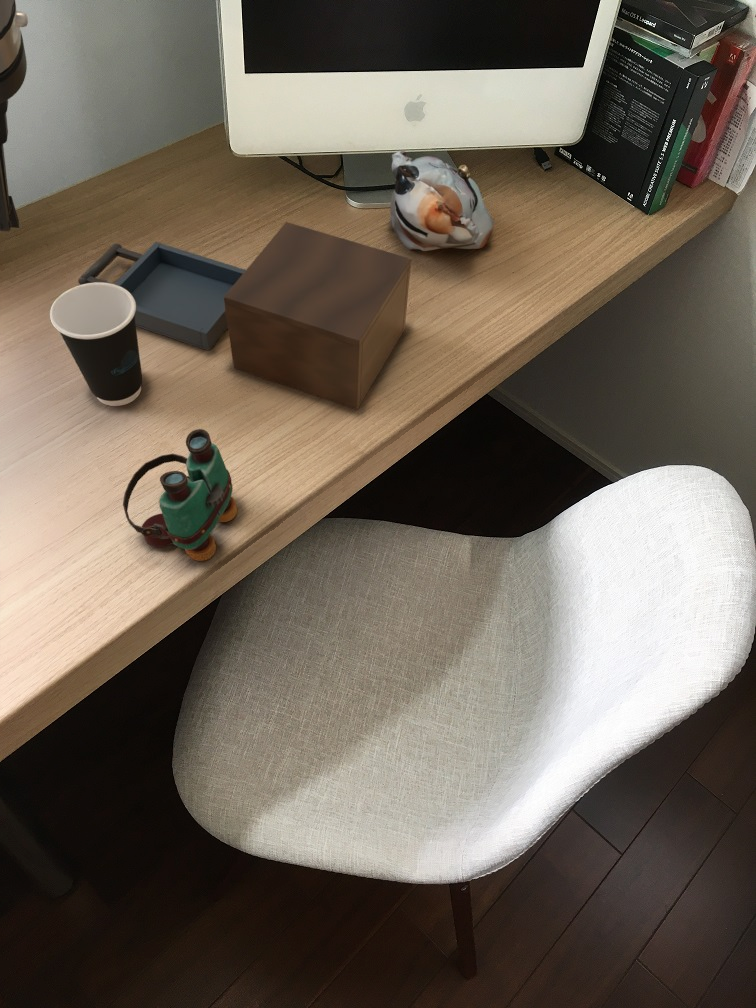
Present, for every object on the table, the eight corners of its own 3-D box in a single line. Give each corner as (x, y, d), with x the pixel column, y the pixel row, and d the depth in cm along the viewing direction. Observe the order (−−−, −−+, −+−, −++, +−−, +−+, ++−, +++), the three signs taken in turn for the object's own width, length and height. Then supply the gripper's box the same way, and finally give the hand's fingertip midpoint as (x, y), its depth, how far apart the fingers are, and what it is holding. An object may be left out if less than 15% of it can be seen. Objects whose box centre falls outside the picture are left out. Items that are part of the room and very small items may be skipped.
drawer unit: (233, 368, 86) (223, 297, 78) (290, 293, 94) (286, 221, 86) (357, 410, 83) (359, 340, 75) (404, 329, 91) (411, 258, 83)
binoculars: (132, 402, 70) (233, 425, 67) (164, 478, 78) (255, 501, 75) (77, 476, 64) (185, 504, 62) (117, 549, 73) (213, 576, 70)
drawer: (71, 304, 91) (65, 286, 89) (127, 248, 97) (122, 231, 95) (209, 350, 87) (206, 333, 85) (257, 289, 94) (256, 272, 92)
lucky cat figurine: (512, 238, 102) (521, 180, 88) (440, 296, 102) (438, 247, 88) (439, 158, 104) (437, 90, 91) (369, 215, 104) (356, 155, 90)
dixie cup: (151, 417, 81) (128, 337, 72) (73, 417, 81) (41, 336, 72) (160, 363, 86) (140, 281, 77) (87, 363, 86) (58, 280, 77)
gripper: (26, 206, 59) (46, 282, 79) (19, -125, 59) (40, 35, 79) (-88, 195, 57) (-37, 277, 77) (-95, -150, 57) (-43, 22, 77)
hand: (2, 154), depth 78 cm, fingers open, 13 cm apart
